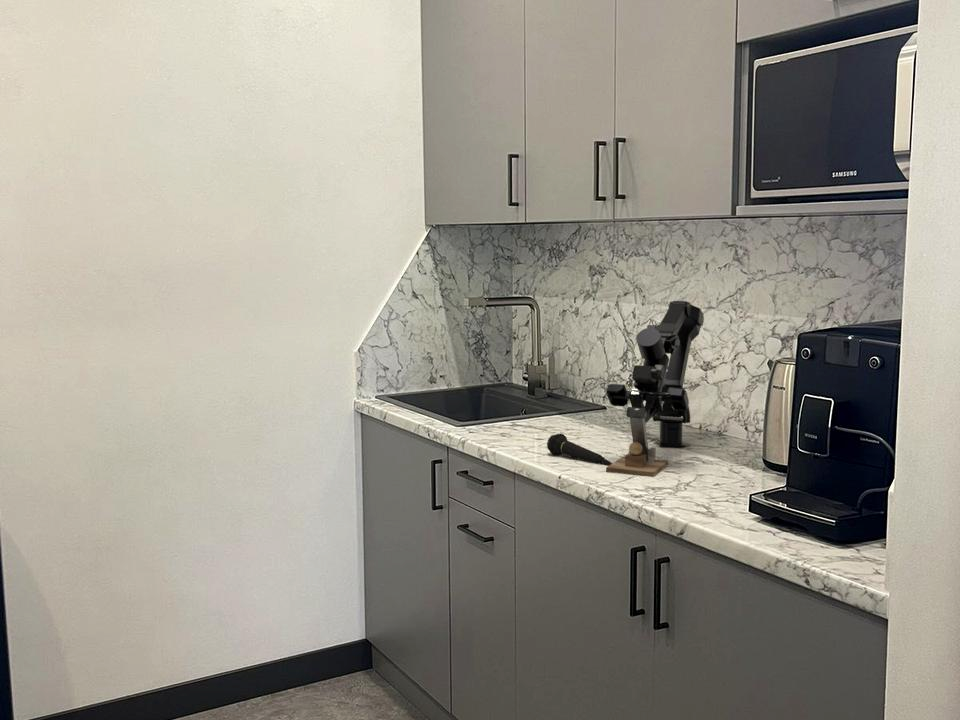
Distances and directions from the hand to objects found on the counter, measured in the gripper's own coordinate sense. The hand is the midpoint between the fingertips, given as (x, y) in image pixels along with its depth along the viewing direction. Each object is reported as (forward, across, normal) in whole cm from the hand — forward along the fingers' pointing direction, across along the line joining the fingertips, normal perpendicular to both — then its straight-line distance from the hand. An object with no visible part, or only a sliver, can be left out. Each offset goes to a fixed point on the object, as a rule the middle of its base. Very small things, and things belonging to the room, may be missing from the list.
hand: (639, 426), depth 224 cm
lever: (+4, 0, +7) cm, 8 cm away
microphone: (+6, -16, +8) cm, 19 cm away
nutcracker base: (+8, 0, +6) cm, 10 cm away
